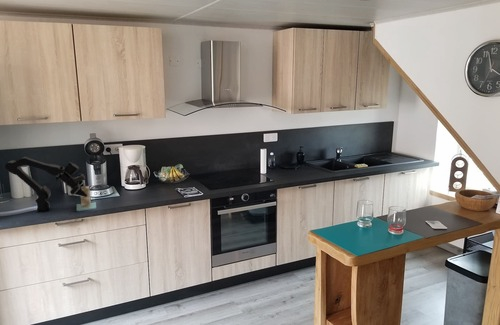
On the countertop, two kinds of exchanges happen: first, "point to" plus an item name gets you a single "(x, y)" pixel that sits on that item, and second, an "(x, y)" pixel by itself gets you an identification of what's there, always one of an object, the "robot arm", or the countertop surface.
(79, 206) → the teal pad
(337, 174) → the countertop surface
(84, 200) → the beech block
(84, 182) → the light bulb box
